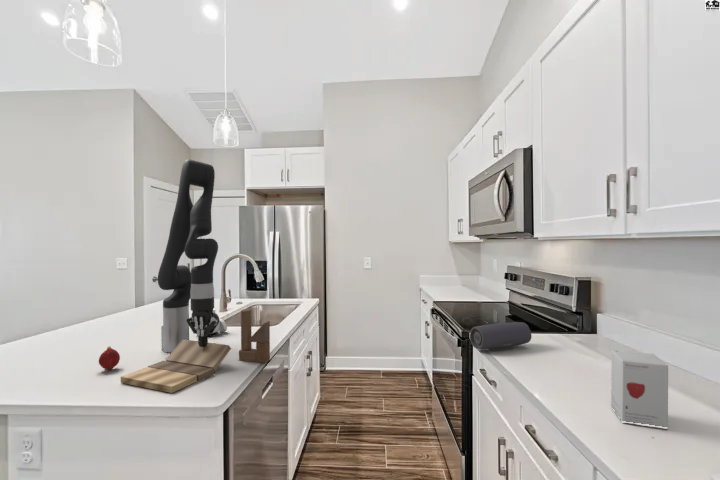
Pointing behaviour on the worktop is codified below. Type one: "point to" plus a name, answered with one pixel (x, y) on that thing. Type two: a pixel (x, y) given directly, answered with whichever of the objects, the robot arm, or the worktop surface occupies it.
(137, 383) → the oak plank near
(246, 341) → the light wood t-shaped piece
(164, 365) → the mating board
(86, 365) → the worktop surface
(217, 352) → the oak plank far
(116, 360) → the onion
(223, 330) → the spread jar
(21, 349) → the worktop surface
